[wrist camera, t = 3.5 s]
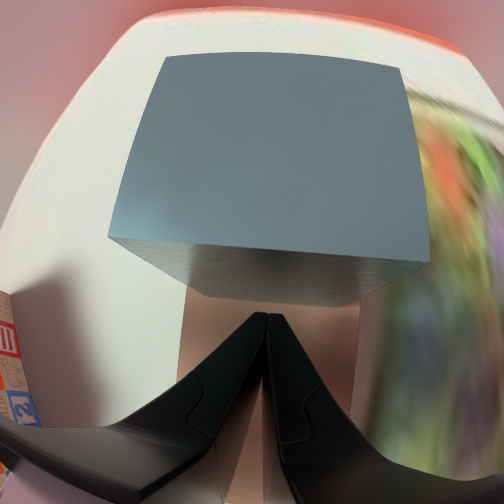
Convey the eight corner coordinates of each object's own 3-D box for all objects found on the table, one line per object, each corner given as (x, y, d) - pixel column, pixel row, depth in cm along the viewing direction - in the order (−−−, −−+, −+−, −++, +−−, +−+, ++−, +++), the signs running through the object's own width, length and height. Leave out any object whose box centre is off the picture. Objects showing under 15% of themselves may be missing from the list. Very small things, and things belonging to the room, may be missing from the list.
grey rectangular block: (338, 307, 14) (430, 262, 5) (206, 296, 14) (107, 236, 6) (341, 204, 15) (398, 68, 6) (220, 196, 15) (166, 56, 7)
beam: (326, 471, 16) (340, 509, 11) (186, 457, 17) (160, 489, 12) (345, 122, 22) (357, 76, 17) (230, 115, 23) (220, 68, 18)
